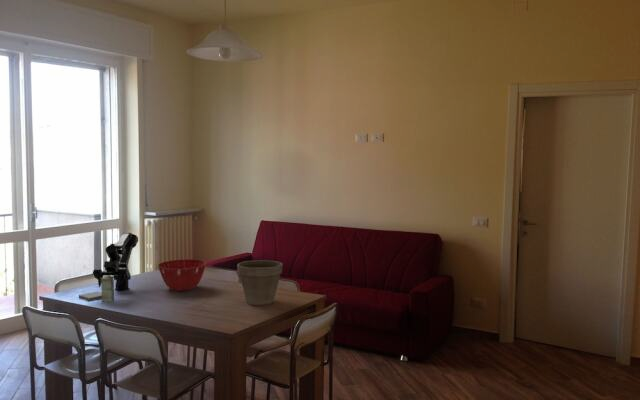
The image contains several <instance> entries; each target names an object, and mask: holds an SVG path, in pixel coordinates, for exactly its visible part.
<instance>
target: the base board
mask: <svg viewBox="0 0 640 400" xmlns="http://www.w3.org/2000/svg"><path fill="white" fill-rule="evenodd" d="M78 298H79V299H81V298H82V299H81V300H84V299H85V300H86V301H87V300H88V302H91V300H92V301H96V300H100V299H101V300H102V291H101V292H100V291H92V292H87V293H82V294H78ZM85 300H84V301H85Z"/></svg>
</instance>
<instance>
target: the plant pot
mask: <svg viewBox="0 0 640 400" xmlns="http://www.w3.org/2000/svg"><path fill="white" fill-rule="evenodd" d="M236 266H237V269H236V270H237V274H238V275H239V278H240V282H241V286H242V289H243V294H244V297H245V302H246V304H248V305H251V306H269V305H271V304H273V303H274V301H275V297H276V293H277V289H278V285H279V282H280V279H281V274H282V273H283V266H284V265H283V262H280V261H276V260H267V259H265V260H261V259H260V260H259V259H258V260H257V259H256V260H246V261H242V262H239V263H237V265H236Z"/></svg>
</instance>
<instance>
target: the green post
mask: <svg viewBox="0 0 640 400" xmlns="http://www.w3.org/2000/svg"><path fill="white" fill-rule="evenodd" d="M114 283H115V280H114V276H110V275H103V278H101V286H100V288H101V293H102V298H101V302H102V301H111V302H113V301H114V300H115V284H114ZM113 299H114V300H113Z"/></svg>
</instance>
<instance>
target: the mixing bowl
mask: <svg viewBox="0 0 640 400" xmlns="http://www.w3.org/2000/svg"><path fill="white" fill-rule="evenodd" d="M206 265H207V262H206V261H205V260H201V259H193V258H191V259H190V258H186V259H185V258H184V259H173V260H166V261H163V262H160V263H158V264H157V267H158V269H159V273H160V276H161V278H162V280H163V283H164V284H165V285H166V287H168V288H169V289H171V290H172V291H176V292H186V291H191V290H194V289H195V288H196V287H197V286H198V285H199V284H200V282H201V280H202V277H203V274H204V271H205V268H206Z"/></svg>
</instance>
